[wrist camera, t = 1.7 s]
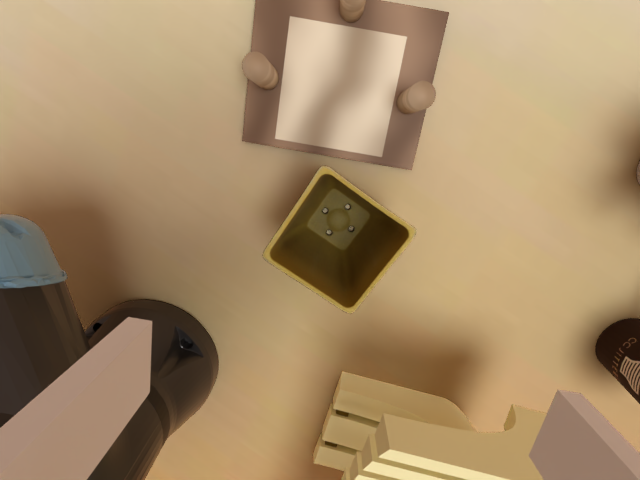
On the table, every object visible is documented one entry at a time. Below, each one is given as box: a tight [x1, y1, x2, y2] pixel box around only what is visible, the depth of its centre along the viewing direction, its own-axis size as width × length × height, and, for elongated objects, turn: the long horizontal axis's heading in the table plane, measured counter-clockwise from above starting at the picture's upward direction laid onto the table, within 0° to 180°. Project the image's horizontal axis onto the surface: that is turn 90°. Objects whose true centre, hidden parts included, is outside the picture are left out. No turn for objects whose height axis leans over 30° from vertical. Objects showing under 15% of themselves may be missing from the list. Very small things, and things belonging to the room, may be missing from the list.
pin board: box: [242, 0, 449, 170], centre depth 28 cm, size 16×13×6 cm
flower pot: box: [262, 166, 416, 314], centre depth 30 cm, size 9×9×9 cm
